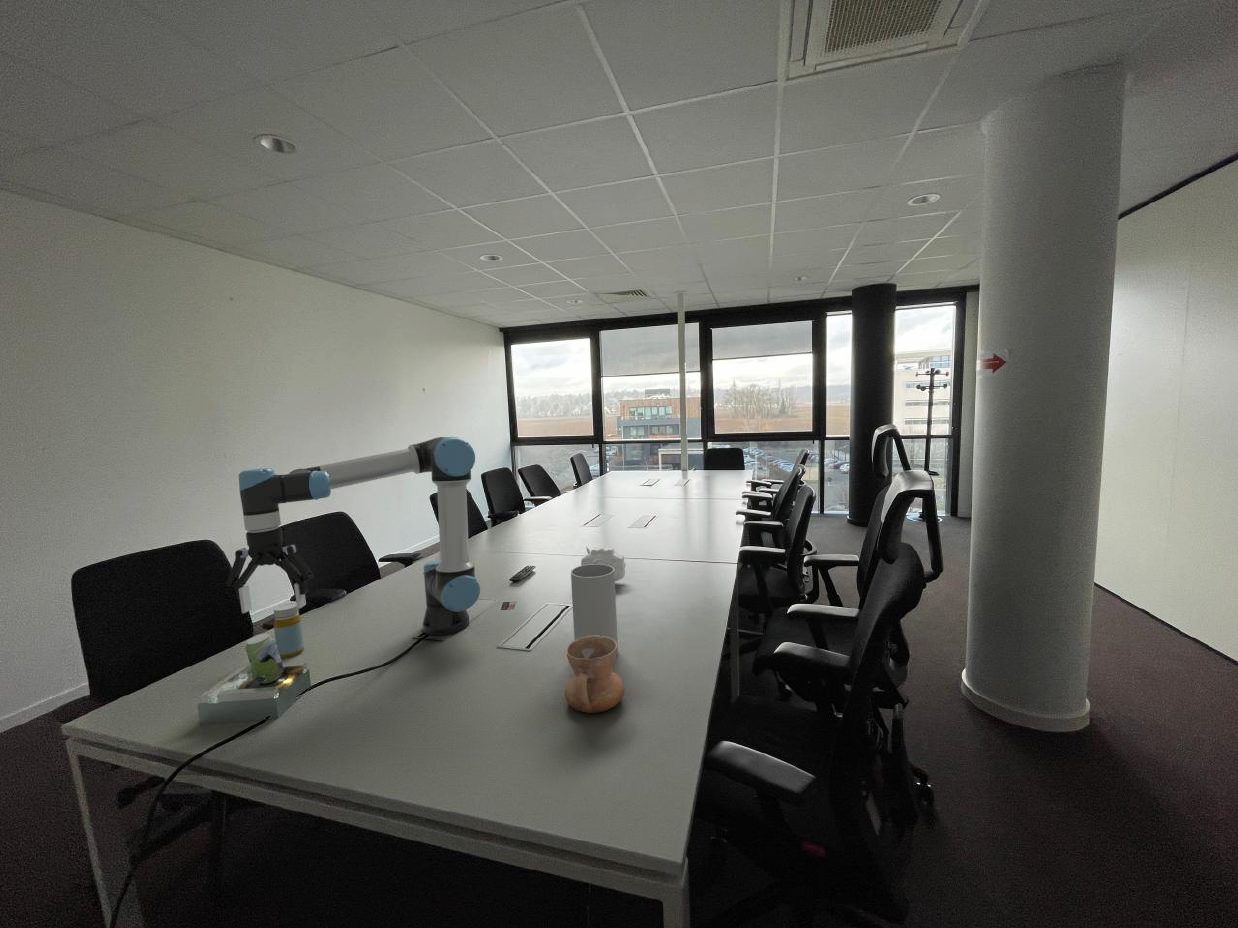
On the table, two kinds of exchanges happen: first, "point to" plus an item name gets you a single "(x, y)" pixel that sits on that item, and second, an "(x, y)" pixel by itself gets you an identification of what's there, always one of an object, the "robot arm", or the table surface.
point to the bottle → (288, 630)
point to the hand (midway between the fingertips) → (274, 608)
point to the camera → (606, 560)
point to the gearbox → (253, 695)
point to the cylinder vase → (594, 602)
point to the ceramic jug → (593, 675)
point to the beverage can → (264, 658)
